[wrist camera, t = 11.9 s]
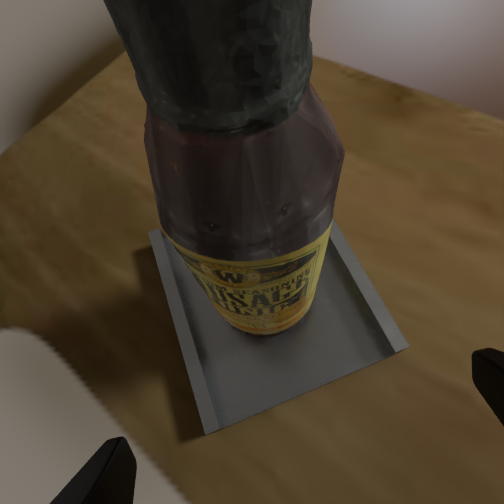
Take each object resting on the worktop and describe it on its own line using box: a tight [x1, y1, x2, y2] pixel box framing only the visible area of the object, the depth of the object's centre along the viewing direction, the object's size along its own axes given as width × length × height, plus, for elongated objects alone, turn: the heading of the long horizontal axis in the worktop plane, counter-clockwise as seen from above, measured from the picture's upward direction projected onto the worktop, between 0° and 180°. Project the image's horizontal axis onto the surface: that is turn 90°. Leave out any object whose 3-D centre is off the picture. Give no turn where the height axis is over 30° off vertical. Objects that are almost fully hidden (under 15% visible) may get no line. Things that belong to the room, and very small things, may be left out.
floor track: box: [148, 219, 409, 435], centre depth 21 cm, size 13×12×2 cm
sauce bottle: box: [104, 0, 345, 336], centre depth 13 cm, size 7×6×20 cm
